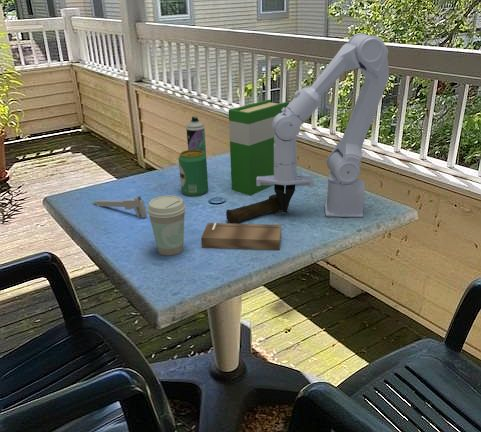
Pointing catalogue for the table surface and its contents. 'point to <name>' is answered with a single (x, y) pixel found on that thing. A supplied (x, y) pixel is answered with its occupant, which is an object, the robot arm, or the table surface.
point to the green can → (193, 172)
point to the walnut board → (241, 236)
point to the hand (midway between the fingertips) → (284, 211)
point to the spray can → (196, 135)
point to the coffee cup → (168, 223)
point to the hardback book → (252, 144)
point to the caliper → (126, 205)
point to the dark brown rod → (254, 209)
